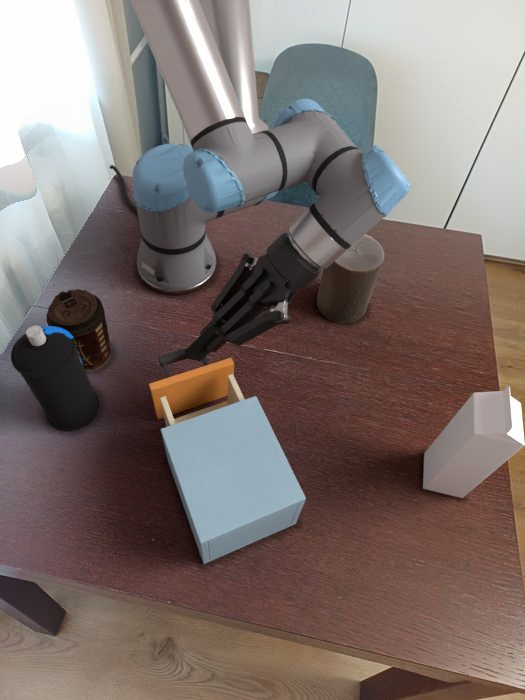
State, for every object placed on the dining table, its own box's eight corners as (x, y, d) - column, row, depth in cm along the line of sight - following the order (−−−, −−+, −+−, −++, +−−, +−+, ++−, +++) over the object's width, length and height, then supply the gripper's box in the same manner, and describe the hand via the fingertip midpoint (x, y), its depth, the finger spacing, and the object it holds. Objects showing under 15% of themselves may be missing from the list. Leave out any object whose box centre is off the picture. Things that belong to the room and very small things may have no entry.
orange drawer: (145, 383, 81) (137, 352, 73) (218, 360, 84) (217, 328, 77) (185, 498, 70) (181, 475, 63) (266, 466, 74) (271, 441, 67)
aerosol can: (87, 436, 76) (50, 364, 59) (36, 425, 76) (-15, 350, 60) (107, 391, 80) (78, 312, 64) (59, 381, 81) (18, 300, 65)
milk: (422, 489, 74) (484, 422, 56) (423, 452, 78) (482, 378, 60) (463, 498, 74) (539, 434, 56) (462, 461, 77) (534, 389, 59)
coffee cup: (72, 333, 87) (51, 282, 76) (120, 335, 87) (106, 284, 76) (61, 375, 82) (37, 327, 71) (112, 377, 82) (96, 329, 71)
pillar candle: (358, 330, 91) (379, 273, 79) (308, 313, 93) (321, 254, 81) (371, 294, 96) (393, 235, 84) (324, 278, 98) (338, 218, 86)
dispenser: (167, 461, 74) (160, 428, 65) (252, 429, 78) (256, 395, 69) (203, 564, 66) (200, 543, 57) (295, 523, 70) (306, 498, 61)
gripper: (340, 293, 66) (223, 394, 75) (299, 230, 73) (195, 330, 82) (311, 275, 60) (188, 386, 70) (269, 208, 67) (161, 318, 76)
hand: (192, 356), depth 76 cm, fingers closed
